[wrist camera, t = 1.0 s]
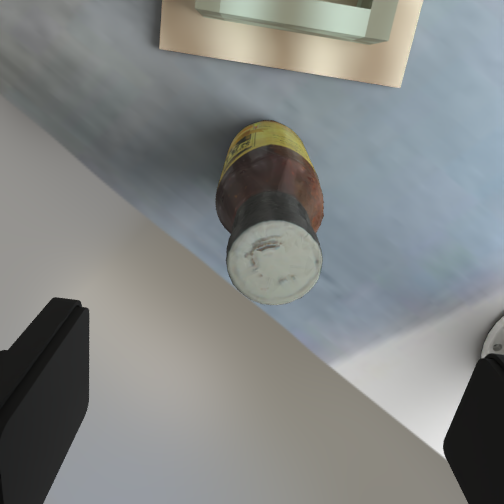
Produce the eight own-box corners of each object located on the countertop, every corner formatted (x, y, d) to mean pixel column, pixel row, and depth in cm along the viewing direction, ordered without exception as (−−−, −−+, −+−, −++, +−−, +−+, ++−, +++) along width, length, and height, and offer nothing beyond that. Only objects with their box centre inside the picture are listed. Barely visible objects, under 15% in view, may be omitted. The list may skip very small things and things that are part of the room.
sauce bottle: (236, 110, 35) (214, 158, 16) (313, 128, 35) (375, 193, 17) (221, 189, 37) (186, 308, 19) (292, 205, 38) (327, 335, 19)
